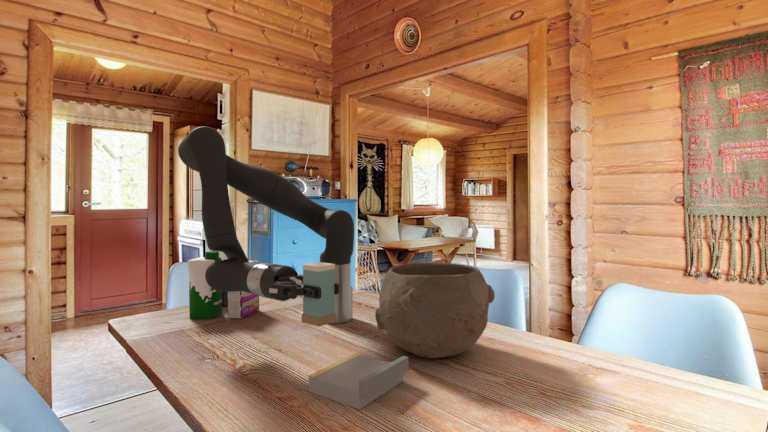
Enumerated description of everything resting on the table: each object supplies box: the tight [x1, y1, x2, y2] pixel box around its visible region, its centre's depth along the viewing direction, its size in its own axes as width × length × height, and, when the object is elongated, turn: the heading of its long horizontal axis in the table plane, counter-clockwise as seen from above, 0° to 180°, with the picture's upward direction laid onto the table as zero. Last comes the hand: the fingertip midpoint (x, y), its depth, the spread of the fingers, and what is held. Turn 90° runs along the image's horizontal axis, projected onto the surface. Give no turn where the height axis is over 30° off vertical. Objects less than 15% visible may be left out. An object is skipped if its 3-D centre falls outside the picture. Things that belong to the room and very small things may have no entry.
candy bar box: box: [227, 259, 260, 320], centre depth 132 cm, size 11×5×16 cm, turn 168°
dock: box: [308, 353, 409, 410], centre depth 80 cm, size 14×13×5 cm
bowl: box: [374, 262, 496, 359], centre depth 99 cm, size 27×29×20 cm
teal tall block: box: [301, 261, 336, 327], centre depth 84 cm, size 5×5×12 cm
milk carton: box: [187, 250, 224, 320], centre depth 130 cm, size 9×9×20 cm
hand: (328, 291), depth 82 cm, fingers closed on teal tall block, 4 cm apart
